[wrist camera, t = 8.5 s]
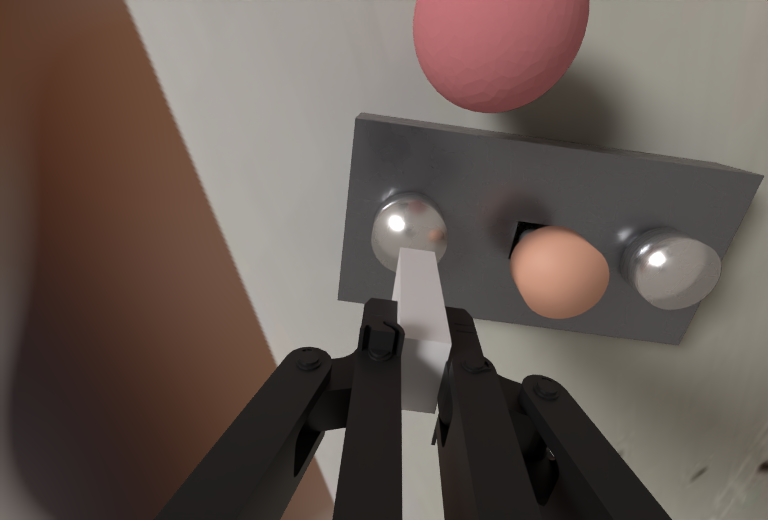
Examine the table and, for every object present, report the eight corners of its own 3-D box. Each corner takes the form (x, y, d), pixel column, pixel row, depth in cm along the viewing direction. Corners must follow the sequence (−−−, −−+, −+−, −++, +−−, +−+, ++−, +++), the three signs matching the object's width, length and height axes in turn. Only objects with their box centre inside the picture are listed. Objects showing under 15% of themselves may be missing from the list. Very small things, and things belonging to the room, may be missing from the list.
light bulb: (548, 50, 25) (660, 30, 14) (452, 126, 27) (487, 157, 16) (484, -60, 23) (559, -181, 12) (385, 30, 25) (374, -6, 14)
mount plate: (361, 112, 27) (355, 117, 24) (716, 162, 28) (764, 175, 24) (344, 274, 32) (337, 300, 28) (647, 315, 33) (678, 345, 29)
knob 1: (380, 175, 28) (376, 198, 23) (444, 183, 28) (454, 208, 23) (373, 234, 30) (367, 269, 25) (432, 242, 30) (440, 279, 25)
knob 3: (609, 206, 29) (658, 237, 23) (671, 215, 29) (735, 247, 23) (588, 263, 30) (629, 304, 25) (646, 271, 31) (700, 314, 25)
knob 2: (505, 202, 26) (534, 236, 20) (575, 212, 26) (622, 248, 20) (489, 266, 28) (511, 313, 22) (554, 275, 28) (592, 323, 22)
